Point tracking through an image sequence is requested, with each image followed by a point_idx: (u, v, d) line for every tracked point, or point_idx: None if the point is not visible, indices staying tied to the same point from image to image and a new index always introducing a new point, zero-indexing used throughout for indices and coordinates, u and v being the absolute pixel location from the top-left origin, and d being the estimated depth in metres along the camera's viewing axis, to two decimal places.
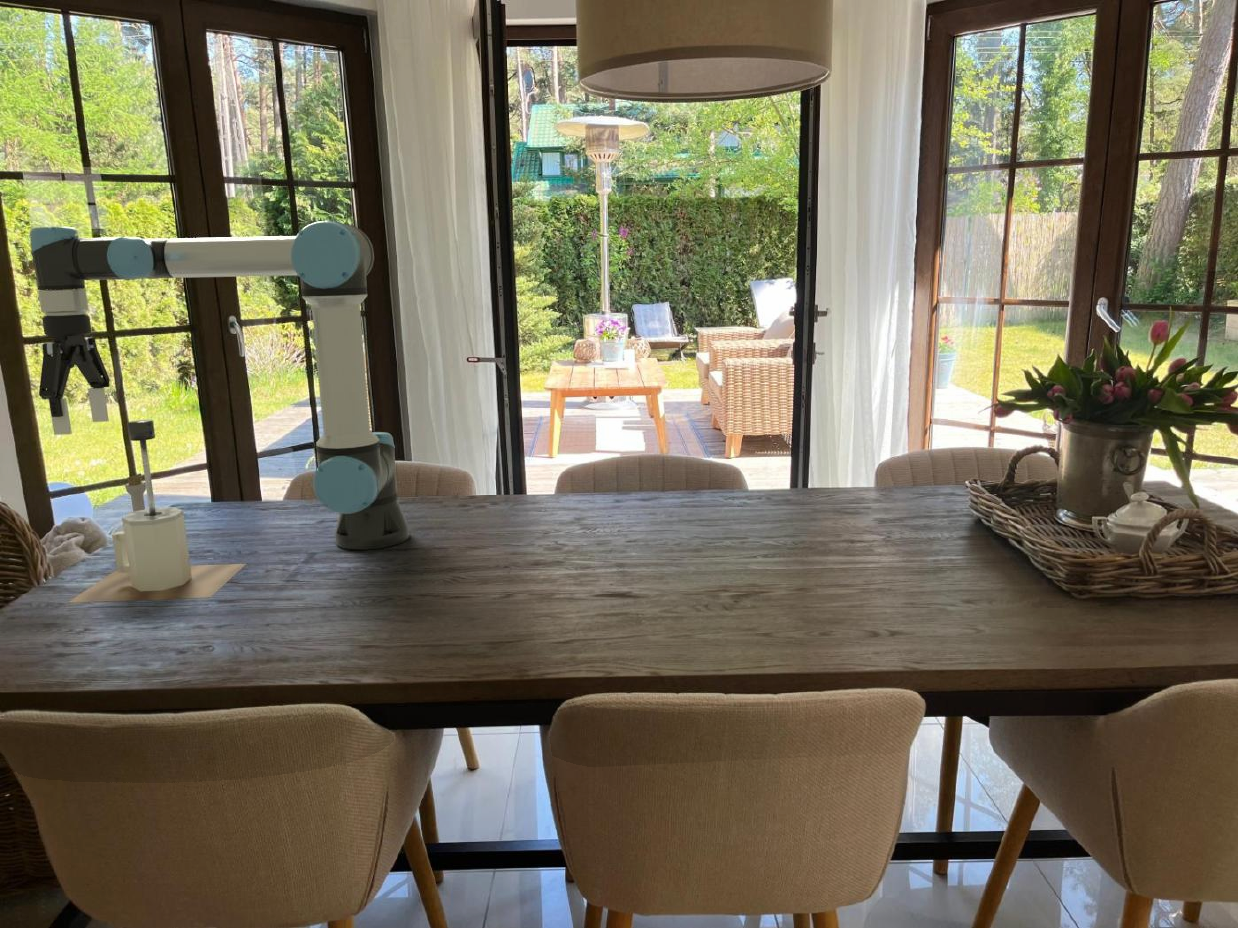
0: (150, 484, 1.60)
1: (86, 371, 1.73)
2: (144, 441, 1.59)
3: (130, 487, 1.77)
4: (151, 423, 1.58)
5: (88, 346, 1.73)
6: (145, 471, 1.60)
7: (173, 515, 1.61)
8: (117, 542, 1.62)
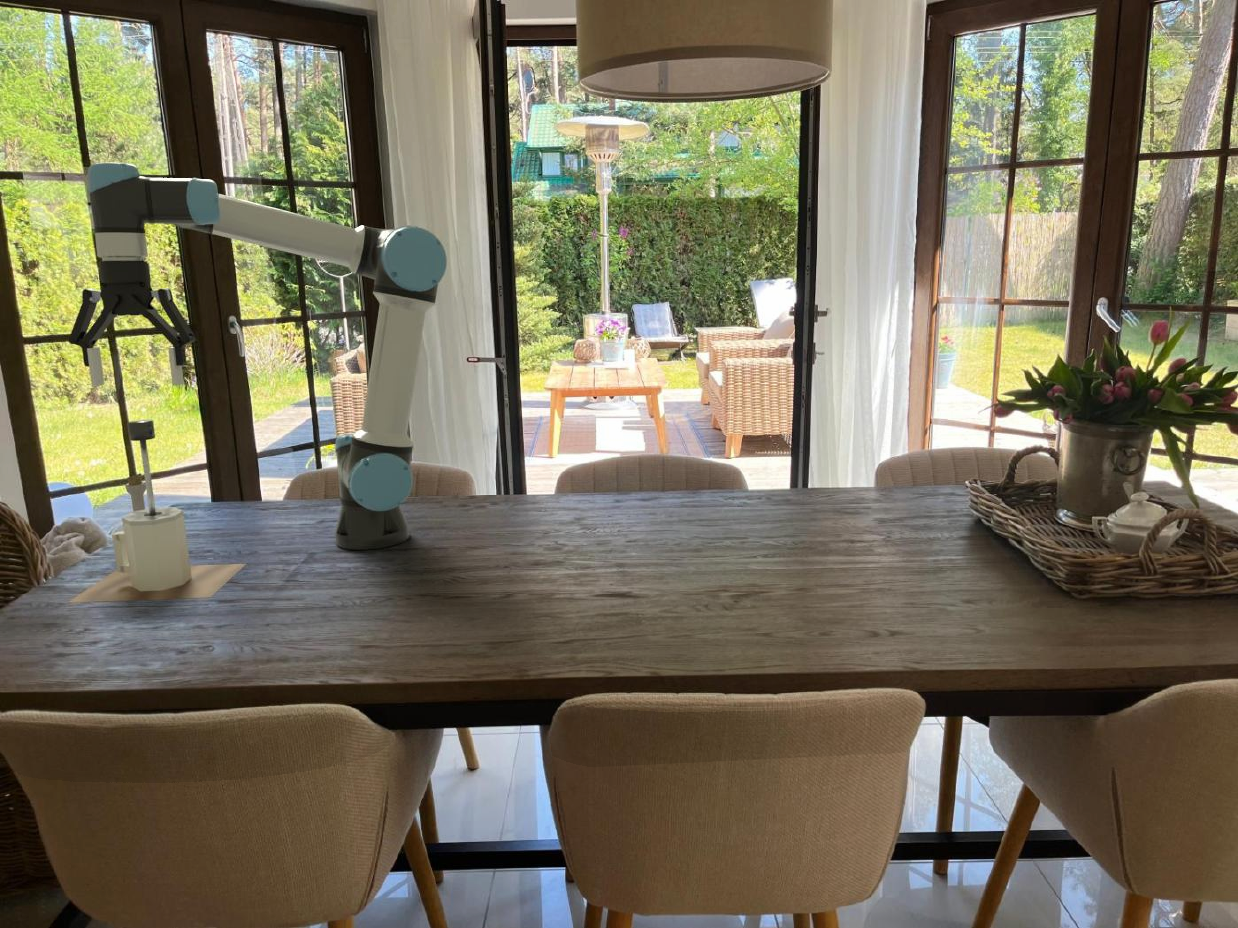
0: (150, 484, 1.60)
1: None
2: (144, 441, 1.59)
3: (130, 487, 1.77)
4: (151, 423, 1.58)
5: None
6: (145, 471, 1.60)
7: (173, 515, 1.61)
8: (117, 542, 1.62)
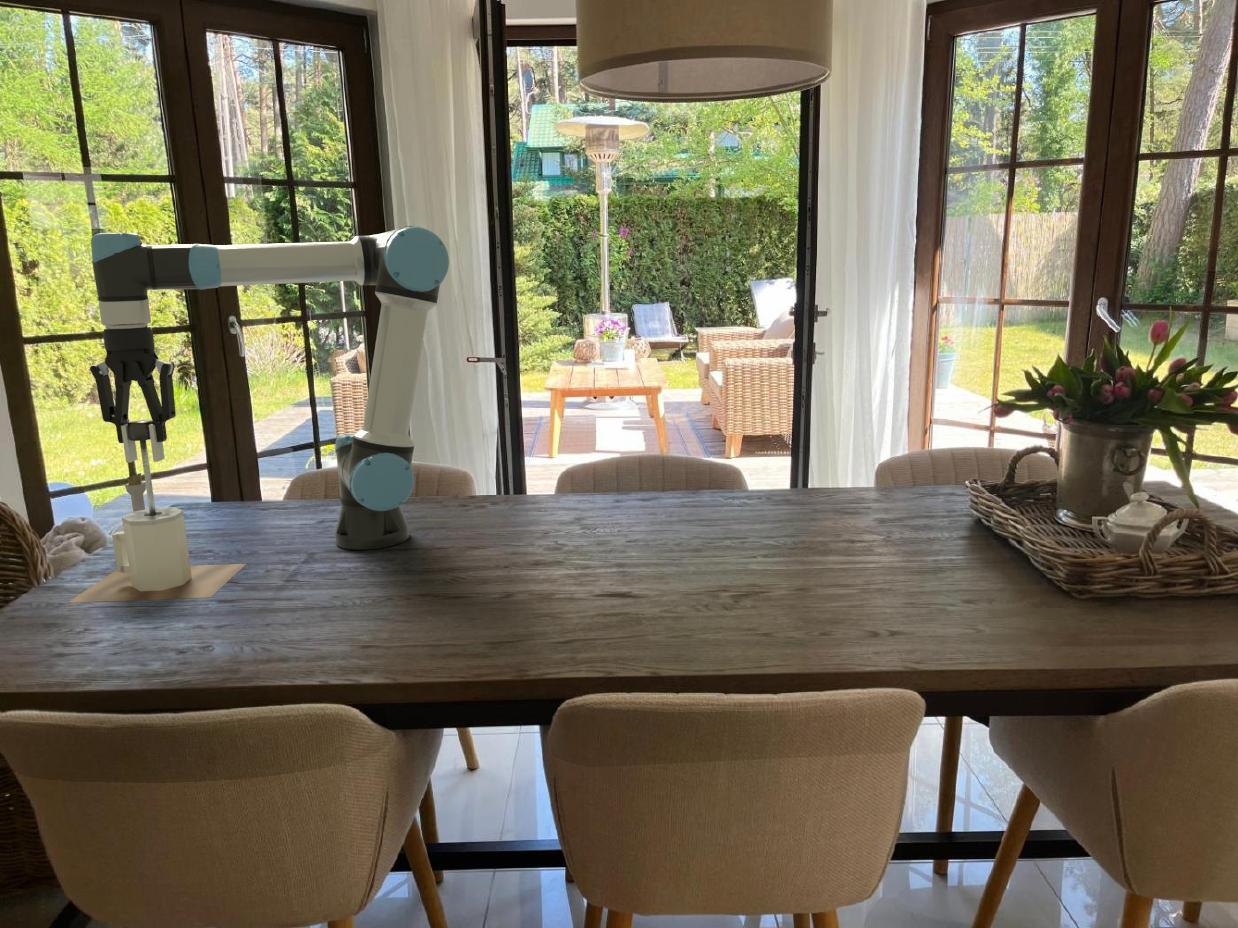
0: (150, 484, 1.60)
1: None
2: (144, 441, 1.59)
3: (130, 487, 1.77)
4: None
5: None
6: (145, 471, 1.60)
7: (173, 515, 1.61)
8: (117, 542, 1.62)
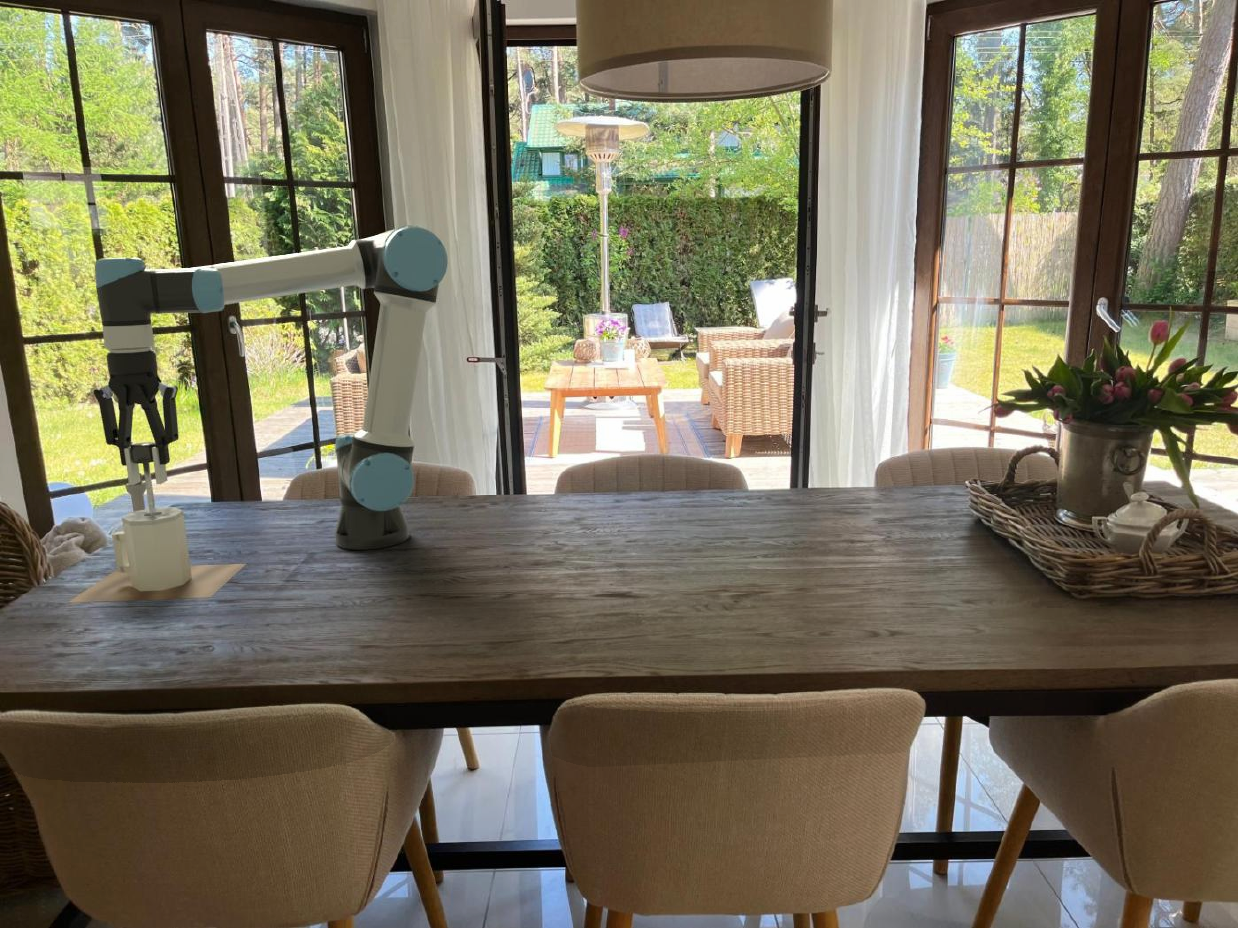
0: (153, 506, 1.61)
1: None
2: (147, 463, 1.60)
3: (130, 487, 1.77)
4: (154, 446, 1.59)
5: (162, 392, 1.57)
6: (148, 493, 1.60)
7: (173, 515, 1.61)
8: (117, 542, 1.62)
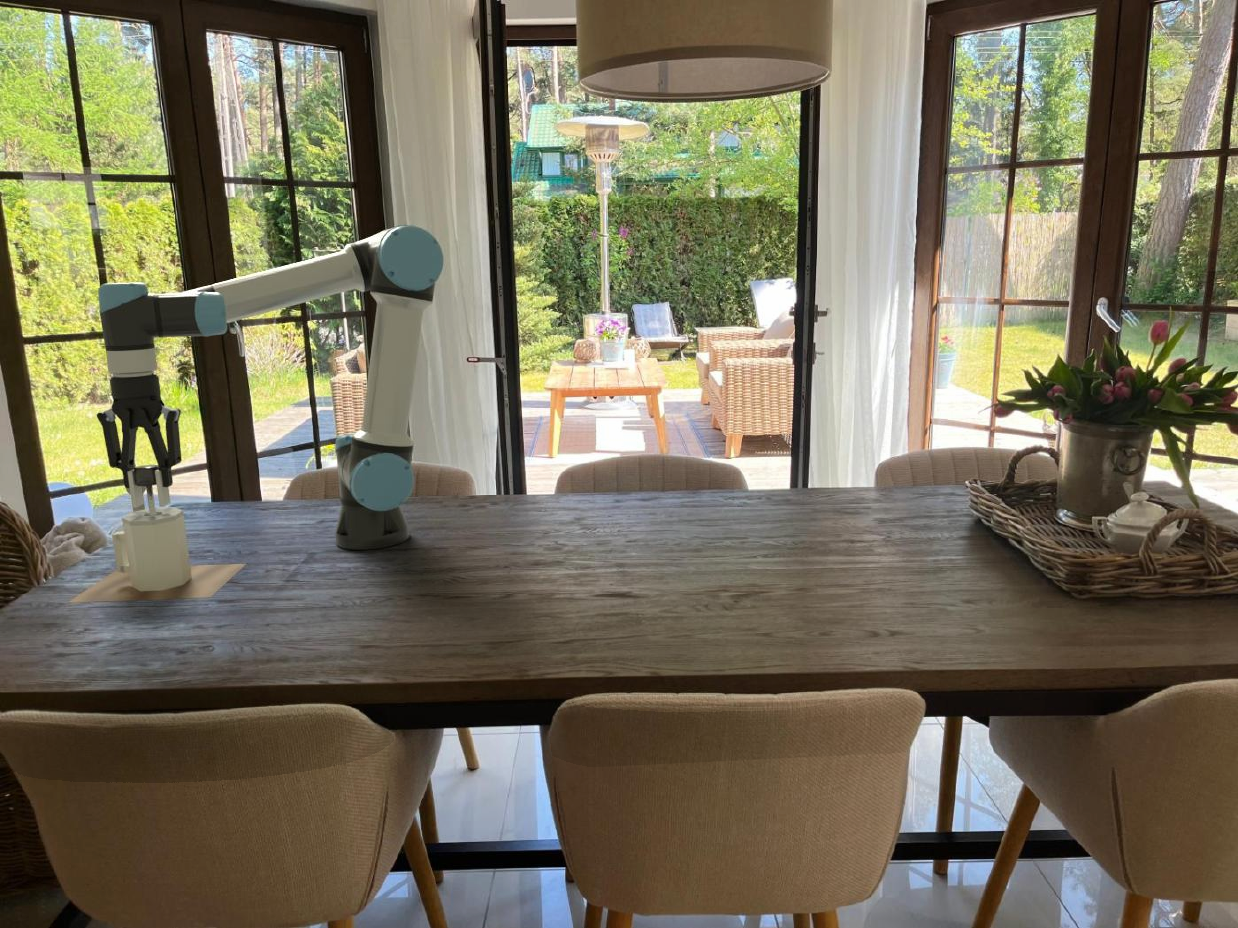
0: None
1: None
2: (150, 486, 1.60)
3: None
4: None
5: (165, 416, 1.58)
6: (151, 515, 1.61)
7: (173, 515, 1.61)
8: (117, 542, 1.62)
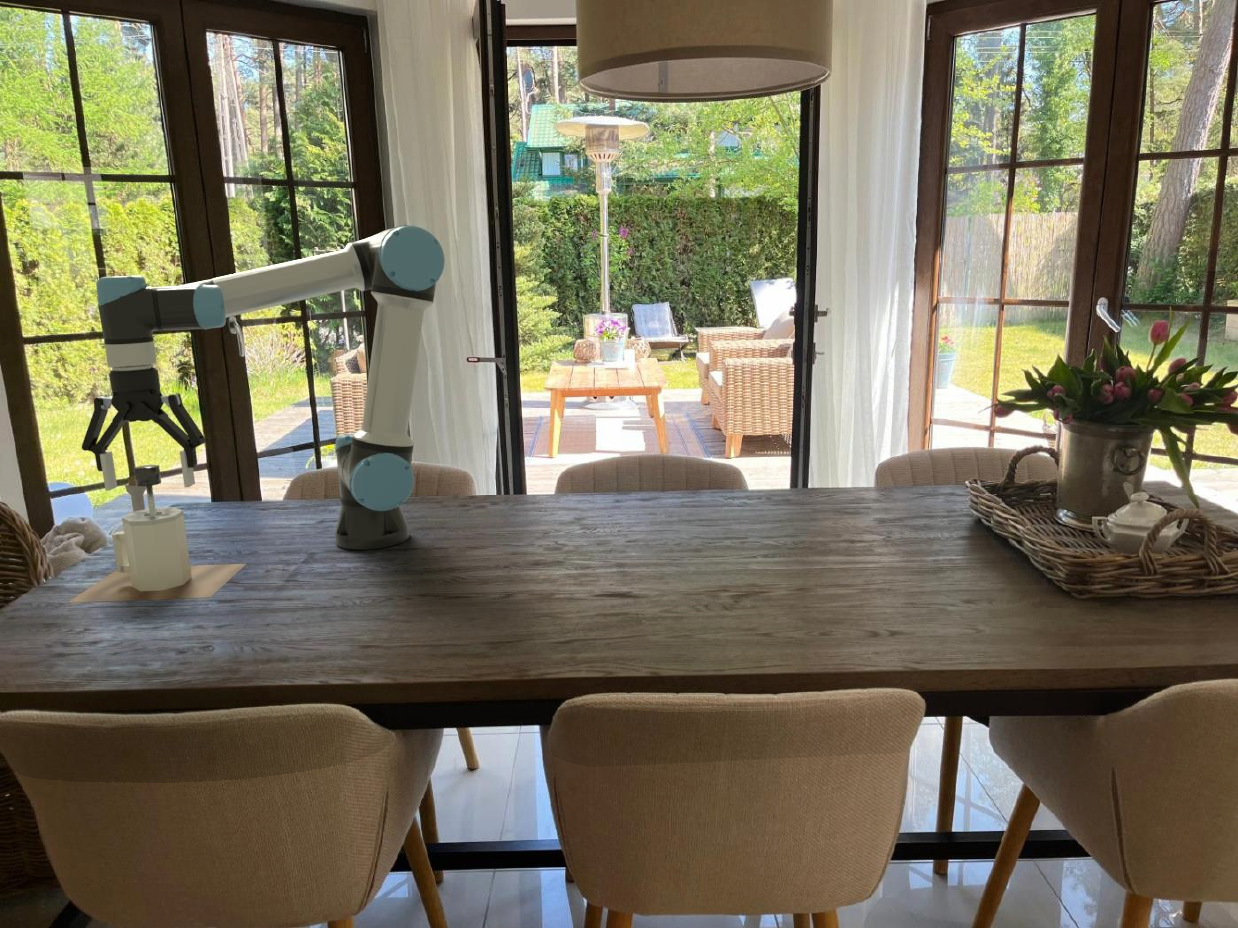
0: None
1: None
2: (150, 486, 1.60)
3: (130, 487, 1.77)
4: (157, 468, 1.60)
5: None
6: None
7: (173, 515, 1.61)
8: (117, 542, 1.62)
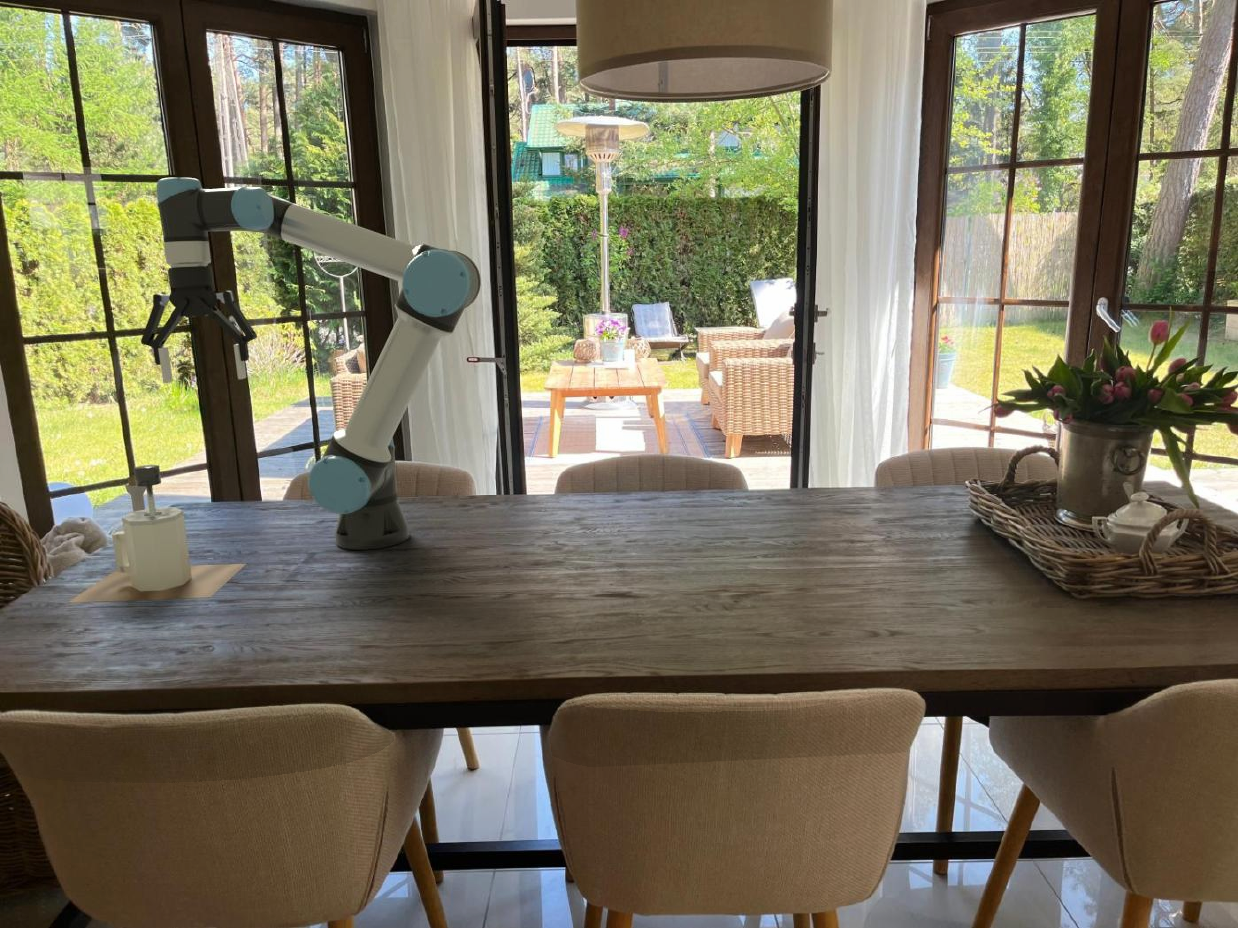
0: None
1: None
2: (150, 486, 1.60)
3: (130, 487, 1.77)
4: (157, 468, 1.60)
5: (222, 300, 1.69)
6: None
7: (173, 515, 1.61)
8: (117, 542, 1.62)
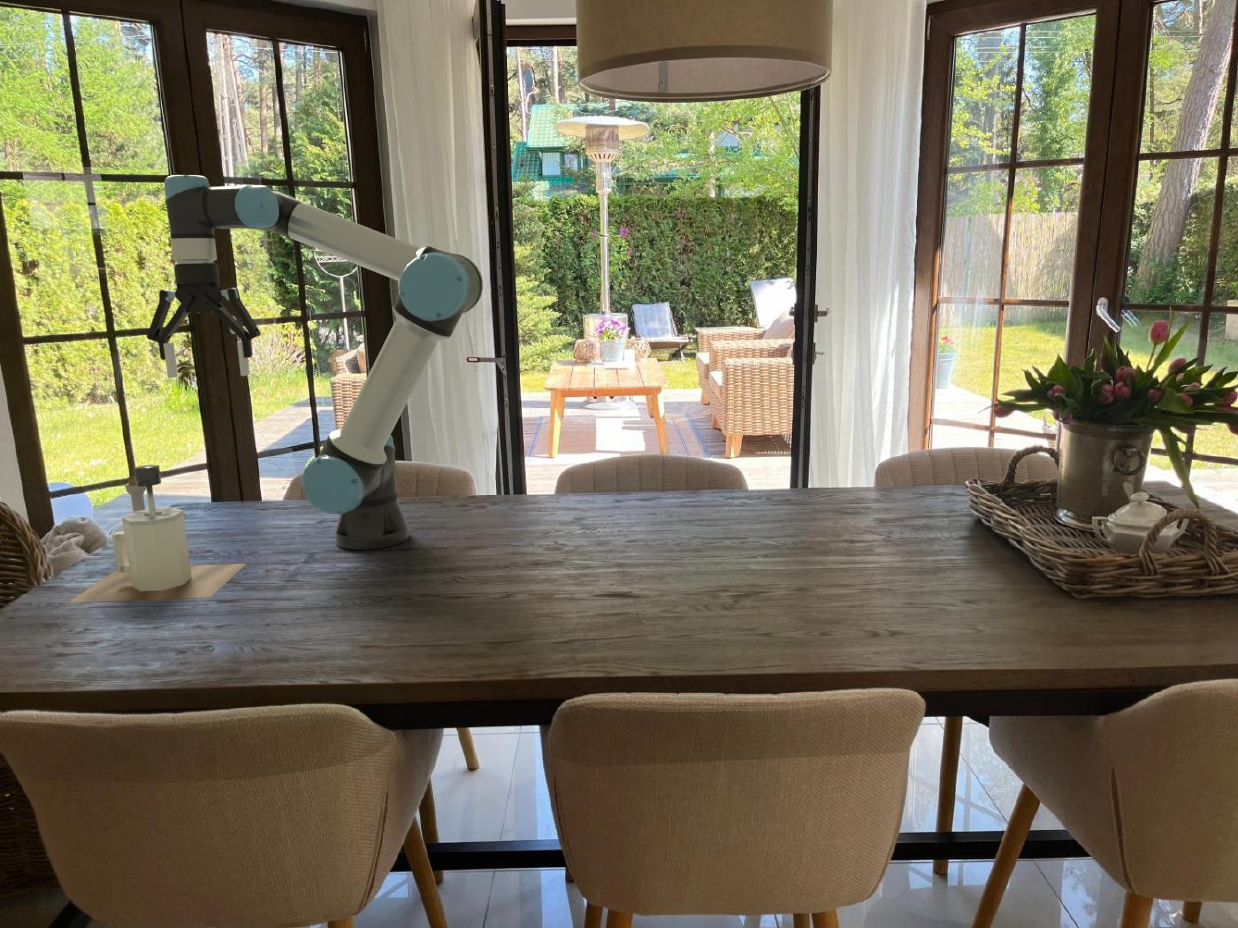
0: None
1: None
2: (150, 486, 1.60)
3: (130, 487, 1.77)
4: (157, 468, 1.60)
5: None
6: None
7: (173, 515, 1.61)
8: (117, 542, 1.62)
